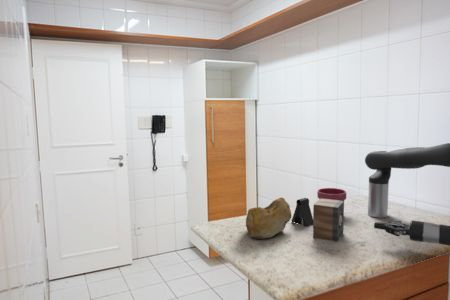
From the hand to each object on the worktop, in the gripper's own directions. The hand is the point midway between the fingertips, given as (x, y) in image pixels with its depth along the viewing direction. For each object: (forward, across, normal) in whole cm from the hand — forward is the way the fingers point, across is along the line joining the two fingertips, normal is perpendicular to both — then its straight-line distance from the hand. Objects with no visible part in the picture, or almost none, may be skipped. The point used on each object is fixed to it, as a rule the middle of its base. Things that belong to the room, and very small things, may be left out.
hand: (374, 225), depth 134 cm
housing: (+18, 0, +8) cm, 20 cm away
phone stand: (+33, -11, +8) cm, 36 cm away
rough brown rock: (+44, +9, +8) cm, 46 cm away
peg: (+18, 0, +2) cm, 18 cm away
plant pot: (+24, -31, +8) cm, 40 cm away
